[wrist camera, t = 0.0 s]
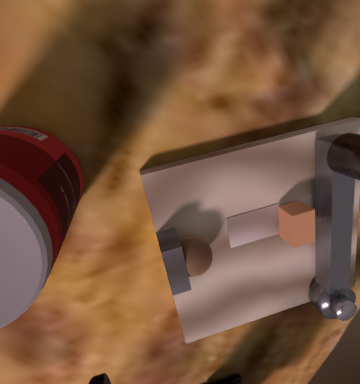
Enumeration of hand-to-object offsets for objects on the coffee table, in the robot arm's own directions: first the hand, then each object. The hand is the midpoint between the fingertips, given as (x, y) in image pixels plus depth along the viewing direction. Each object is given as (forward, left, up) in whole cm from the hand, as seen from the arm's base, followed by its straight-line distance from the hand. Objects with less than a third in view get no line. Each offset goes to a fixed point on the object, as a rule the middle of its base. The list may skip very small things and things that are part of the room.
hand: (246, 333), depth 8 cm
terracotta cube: (-5, -10, -13) cm, 17 cm away
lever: (-7, -13, -13) cm, 19 cm away
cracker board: (-7, -8, -15) cm, 18 cm away
